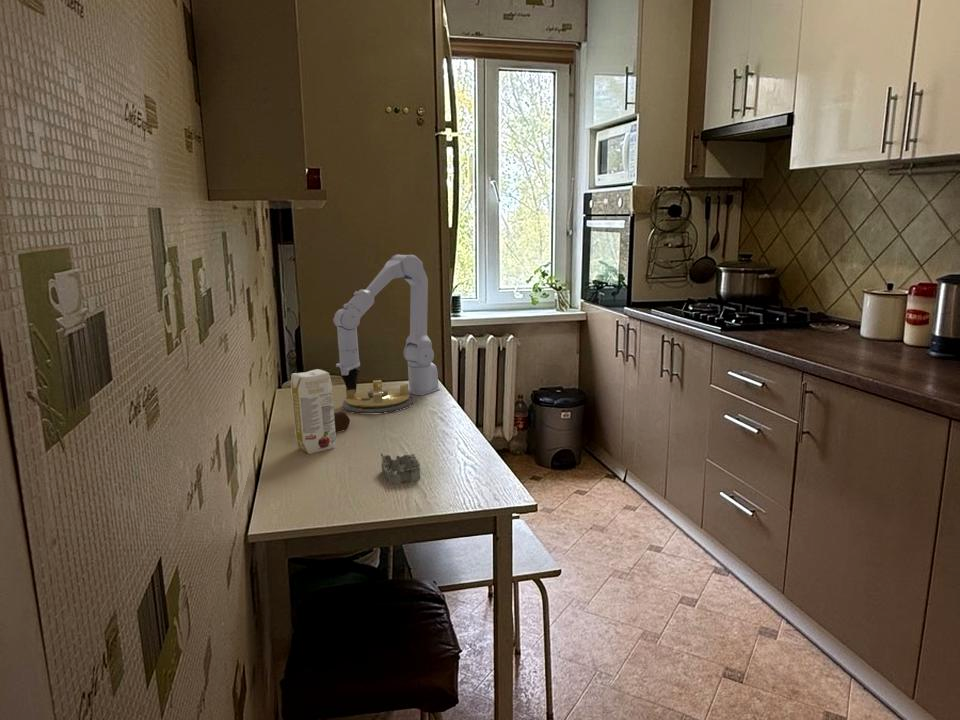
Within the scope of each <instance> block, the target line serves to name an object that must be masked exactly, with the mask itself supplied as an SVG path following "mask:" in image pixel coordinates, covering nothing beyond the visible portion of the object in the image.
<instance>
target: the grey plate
mask: <svg viewBox="0 0 960 720" xmlns="http://www.w3.org/2000/svg"><path fill="white" fill-rule="evenodd" d="M413 404H414V397H413V396H412V395H411V394H410V399H409V400H408V401H407V402H405V403H402V404H399V405H395V406H390V407H383V408H357V407H352V406H349V405H348V404H347V403H346V399H345V400H344V401H343V402H342V407H343V408H344V409H345V410H344V409H343V410H344V411H346V412H348V411H349V412H348V413H351V412H354V413H353V414H356V413H383V414H385V413H384V412H390V411H396V410H400V409H403V408H406V407H408V408H410V407H411V406H412V405H413ZM410 405H411V406H410ZM409 406H410V407H409ZM406 409H407V408H406ZM403 410H404V409H403ZM400 411H401V410H400ZM396 412H397V411H396ZM390 413H391V412H390Z"/></svg>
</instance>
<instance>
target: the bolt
mask: <svg viewBox="0 0 960 720" xmlns="http://www.w3.org/2000/svg"><path fill="white" fill-rule="evenodd" d="M334 420H335V433H340V432H339V431H341V432H343V431H342V430H345V431H346V429H348V428H349V426H350V423H351V419H350V417H349V416H348V415H347V413H346V412H345V411H337V412H334Z"/></svg>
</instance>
